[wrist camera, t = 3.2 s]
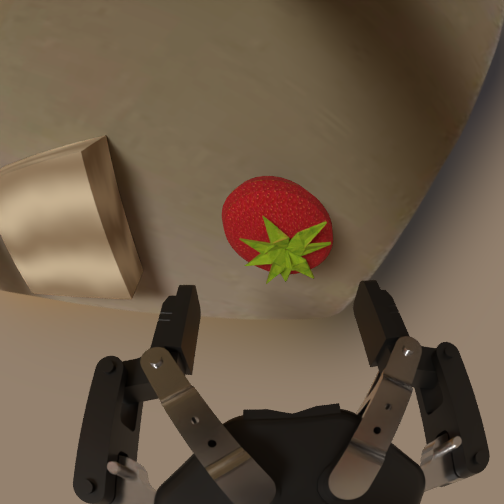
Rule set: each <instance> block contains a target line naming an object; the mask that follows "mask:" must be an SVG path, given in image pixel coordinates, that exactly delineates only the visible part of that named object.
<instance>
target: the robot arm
mask: <svg viewBox="0 0 504 504" xmlns="http://www.w3.org/2000/svg"><path fill="white" fill-rule="evenodd" d="M353 309H354V315H355V318H356V321H357V324H358V328H359V331H360V334H361V337H362V341H363V344H364V347H365V351H366V354H367V357H368V361H369V365H370V367H374V366H378V369H379V371H378V373H377V375H376V377H375V379H374V381H373V383H372V385H371V388H370V389H369V391H368V393H367V396H366V397H365V399H364V401H363V403H362V404H361V406H360V408H359V409H358V411H357V412H356V414H355V413H353V412H350V411H348V410H343V409H340V406H339V403H338V404H331V405H322V406H315V407H312V408H309V409H306V410H303V411H300V412H297V413H293V414H291V413H285V412H279V411H274V410H268V409H263V410H243V415H242V416H238V417H235V418H233V419H231V420H229V421H227V422H225V423H224V424H222V423H221V422H220V421H219V419H218V418H217V417H216V415H215V414H214V413H213V412H212V410H211V409H210V408H209V406H208V405H207V404H206V402H205V401H204V400H203V398H202V397H201V396H200V394H199V393H198V392H197V390H196V389H195V388H194V387H193V386H192V385H191V384H190V383H189V381H188V380H187V378H186V377H185V374H186V375H187V374H188V375H192V371H193V364H194V357H195V350H196V343H197V336H198V330H199V324H200V315H201V312H200V304H199V300H198V295H197V290H196V286H195V285H179V287H178V291H177V295H176V296H169V297H168V298H167V299H166V300H165V302H164V303H163V305H162V308H161V314H160V315H159V321H158V322H157V326H156V330H155V333H154V337H153V341H152V345H151V348H150V349H148V350H147V351H145V353H144V354H143V355H142V357H140V358H137V359H133V360H128V361H123V362H122V361H121V360H120V359H119V358H118V357H115V356H107V357H105V358H103V359H101V360H100V361H99V362H98V364H97V366H96V369H95V373H94V377H93V380H92V384H91V388H90V392H89V396H88V400H87V404H86V409H85V414H84V418H83V423H82V428H81V433H80V439H79V444H78V450H77V457H76V463H75V471H74V479H73V487H74V491H75V493H76V495H77V496H78V497H79V498H80V499H81V500H83V501H84V502H86V503H90V504H420V502H421V499H422V496H423V493H424V492H425V491H428V490H430V489H433V488H436V487H443V486H446V485H449V484H452V483H455V482H457V481H460V480H463V479H465V478H468V477H470V476H473V475H475V474H477V473H479V472H481V471H483V470H484V469H485V468H486V466H487V464H488V462H489V450H488V444H487V440H486V436H485V431H484V427H483V423H482V419H481V416H480V412H479V409H478V405H477V402H476V399H475V395H474V392H473V389H472V386H471V383H470V380H469V377H468V375H467V372H466V369H465V367H464V364H463V361H462V359H461V356H460V353H459V351H458V349H457V348H456V347H455V346H454V345H453V344H451V343H448V342H443V343H441V344H439V345H438V347H437V348H429V347H423V346H421V345H420V343H419V342H418V341H417V340H416V339H414V338H412V337H410V336H409V334H408V332H407V329H406V327H405V325H404V322H403V320H402V318H401V316H400V313H398V309H397V307H396V304H395V303H394V300H393V298H392V297H391V295H390V294H389V293H388V292H387V291H386V290H381V289H380V287H379V285H378V283H377V281H376V280H369V281H361V282H360V284H359V287H358V291H357V294H356V297H355V301H354V307H353ZM412 387H414V388H415V392H416V395H417V400H418V404H419V408H420V413H421V417H422V421H423V426H424V432H425V437H426V443H427V445H426V446H425V447H424V449H423V451H422V457H421V464H420V466H419V465H418V464H417V463H416V462H414V461H413V460H412V459H411V458H409V457H408V456H407V455H406V454H404V453H403V452H402V451H401V450H400V449H398V448H397V447H396V446H395V445H394V444H392V443H391V441H392V440H393V437H394V435H395V433H396V431H397V429H398V426H399V424H400V422H401V419H402V417H403V415H404V412H405V410H406V407H407V405H408V402H409V399H410V397H411V394H412V390H413V389H412ZM158 398H159V399H160V401H161V403H162V406H163V407H164V409H165V411H166V412H167V414H168V415H169V417H170V419H171V420H172V422H173V423H174V425H175V426H176V428H177V429H178V431H179V433H180V434H181V436H182V437H183V438H184V440H185V441H186V443H187V444H188V446H189V447H190V448H191V450H192V451H193V452H194V454H193V455H192V456H191V457H190V458H189V459H188V460H187V461H186V462H185V463H184V464H183V465H182V466H181V467H180V468H179V469H178V470H176V471H175V472H174V473H173V474H172V475H171V476H170V477H169V478H168V479H167V480H166V481H165V482H164V483H163V484H162V485H161V486H160V487H159V488H158V490H157V491H156V490H155V489H153V488H152V486H151V485H150V483H149V480H148V474H147V471H146V470H145V468H144V467H143V466H142V465H141V464H139V463H137V451H138V441H139V432H140V423H141V415H142V407H143V401H148V400H153V399H158Z"/></svg>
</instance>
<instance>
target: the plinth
mask: <svg viewBox="0 0 504 504" xmlns="http://www.w3.org/2000/svg"><path fill="white" fill-rule="evenodd" d="M0 235H1V237H2V239H3V241H4V243H5V245H6V247H7V249H8V251H9V253H10V255H11V257H12V259H13V261H14V263H15V265H16V266H17V268H18V270H19V272H20V274H21V275H22V277H23V279H24V280H25V282H26V284H27V285H28V287H29V289H30V290H31V292H32V293H33V294H45V295H58V296H73V297H90V298H110V299H132V298H133V295H134V292H135V290H136V288H137V285H138V283H139V280H140V278H141V275H142V273H143V268H142V265H141V262H140V259H139V256H138V253H137V250H136V247H135V244H134V241H133V238H132V235H131V232H130V228H129V225H128V222H127V218H126V215H125V212H124V208H123V204H122V201H121V197H120V193H119V190H118V186H117V182H116V178H115V174H114V169H113V165H112V161H111V156H110V152H109V147H108V142H107V137H106V135H105V136H101V137H96V138H92V139H88V140H84V141H80V142H76V143H73V144H69V145H66V146H62V147H59V148H55V149H52V150H49V151H46V152H43V153H39V154H36V155H33V156H31V157H28V158H25V159H22V160H19V161H17V162H14V163H11V164H9V165H6V166H4V167H3V168H1V169H0Z"/></svg>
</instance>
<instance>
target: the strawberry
mask: <svg viewBox="0 0 504 504" xmlns="http://www.w3.org/2000/svg"><path fill="white" fill-rule="evenodd" d="M222 222H223V227H224V231H225V234H226V237H227V240H228V242H229V243H230V245H231V246H232V248H233V249H234V250H235V251H236V252H237V253H238V254H239V255H240V256H241V257H242V258H243V259H245V260H246V261H248V262H249V263H248V264H246V265H245V266H251V265H255V266H257V267H259V268H262V269H264V270H267V271H270V272H269V275H268V279H267V282H266V284H267V283H268V282H269V281H271V280H272V279H273V278H274V277H276V276H277V275H278V274H281V275H282V277H283V279H284V280H285V282H286V281H287V279H288V277H289V275H290V274H296V273H302V274H304V275H307V276H309V277H311V278H313V279H314V276H313V273H312V271H311V269H312V268H314V267H316V266H318V265H319V264H320V263H322V262H323V261H324V260H325V259H326V257H327V256H328V255H329V253H330V251H331V248H332V244H333V232H332V223H331V220H330V217H329V214H328V212H327V211H326V209H325V208H324V206H323V205H322V204H321V203H320V201H319V200H318V199H317V198H316V197H315V196H313V195H312V194H311V193H309V192H308V191H307V190H305V189H304V188H303V187H301V186H300V185H298V184H296V183H294V182H292V181H290V180H287V179H284V178H281V177H275V176H261V177H255V178H252V179H250V180H247V181H245V182H244V183H243V184H241V185H240V186H238V187H237V188H236V189H235V190H234V191H232V193H231V194H230V195H229V196H228V197H227V198H226V201H225V203H224V205H223V209H222Z"/></svg>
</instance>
